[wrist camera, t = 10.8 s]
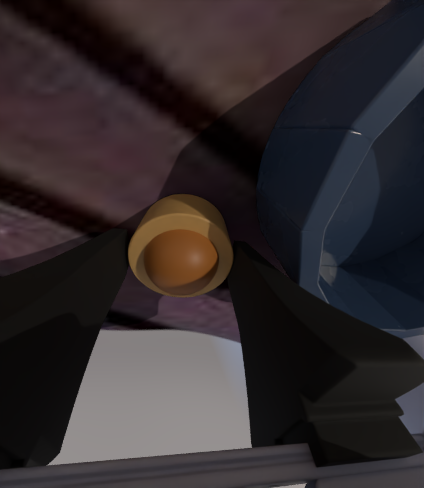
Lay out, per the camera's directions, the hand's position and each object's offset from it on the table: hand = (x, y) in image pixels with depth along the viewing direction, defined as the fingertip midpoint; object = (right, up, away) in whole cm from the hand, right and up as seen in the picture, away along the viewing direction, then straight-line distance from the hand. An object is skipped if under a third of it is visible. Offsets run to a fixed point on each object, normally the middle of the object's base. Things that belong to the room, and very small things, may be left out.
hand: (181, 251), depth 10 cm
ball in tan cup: (0, +1, +2) cm, 2 cm away
